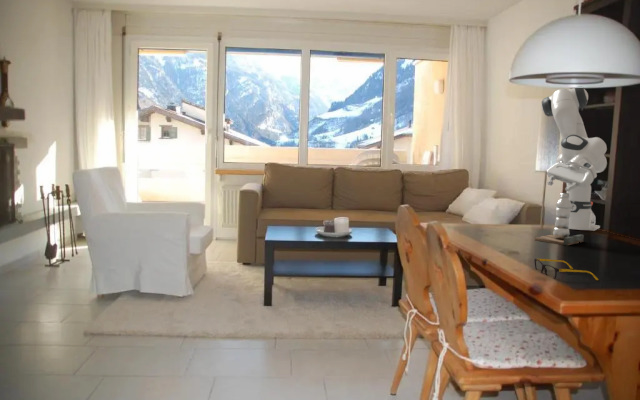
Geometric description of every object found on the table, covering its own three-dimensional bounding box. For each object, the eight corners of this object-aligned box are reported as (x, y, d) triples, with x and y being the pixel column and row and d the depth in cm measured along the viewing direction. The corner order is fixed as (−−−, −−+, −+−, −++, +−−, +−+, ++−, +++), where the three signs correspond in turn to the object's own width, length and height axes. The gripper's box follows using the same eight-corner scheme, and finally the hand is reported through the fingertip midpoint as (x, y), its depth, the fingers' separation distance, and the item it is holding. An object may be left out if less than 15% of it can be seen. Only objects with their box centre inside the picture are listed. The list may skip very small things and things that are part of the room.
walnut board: (551, 236, 234) (551, 230, 234) (583, 241, 223) (583, 234, 223) (534, 240, 223) (535, 233, 223) (567, 245, 213) (567, 238, 213)
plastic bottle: (553, 239, 221) (557, 193, 218) (551, 236, 227) (555, 192, 225) (569, 240, 219) (574, 194, 216) (567, 238, 225) (572, 193, 222)
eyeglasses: (530, 269, 170) (531, 257, 169) (572, 270, 171) (573, 258, 171) (553, 280, 156) (554, 268, 155) (598, 281, 157) (600, 268, 156)
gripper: (556, 156, 236) (536, 176, 234) (596, 167, 218) (575, 188, 216) (560, 165, 239) (541, 185, 237) (600, 177, 221) (579, 198, 220)
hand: (557, 187), depth 227 cm, fingers open, 8 cm apart
